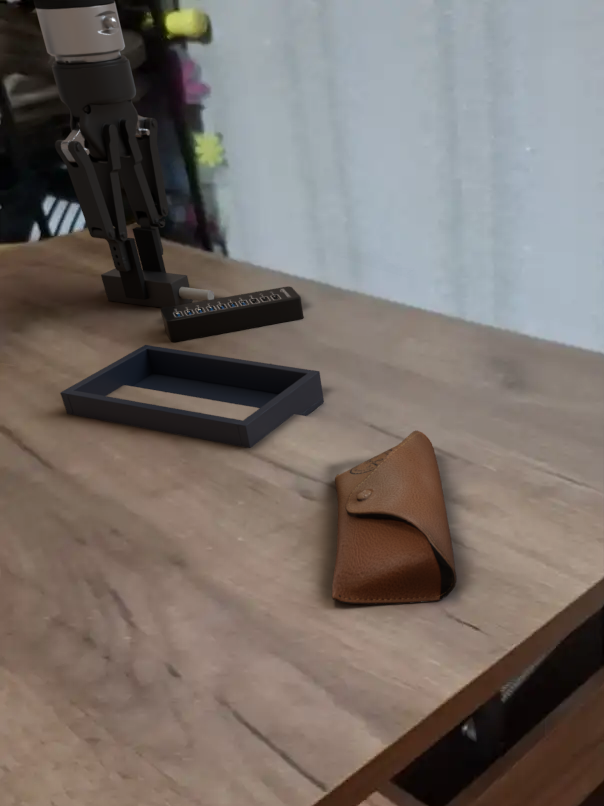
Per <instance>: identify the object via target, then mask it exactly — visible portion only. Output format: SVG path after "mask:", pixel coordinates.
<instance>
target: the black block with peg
mask: <svg viewBox="0 0 604 806" xmlns="http://www.w3.org/2000/svg"><path fill="white" fill-rule="evenodd" d="M142 271H143V275H144V279H145V284H146V288H147V292H148V296H149V298H148V299H146V300H141V299H134V298H126V295H125V291H124V288H123V284H122V280H121V276H120V273H119V271H117V269H116V268H115V267H114V268H113V269H110V270H108V271H105V272H104V273H101V274H100V277H101V281H102V284H103V288H104V291H105V295H106V299H107V301H108V302H115V303H121V304H122V303H123V304H131V305H137V306H144V307H145V306H146V307H152V308H153V307H154V308H160V309H162V308H165V307H171V306H177V305H182V304H188V303H193V302H194V301H199V302H200V301H206V300H212V299H215V293H214V291H213V290H211V289H201V288H193V287H191V286H190V282H189V277H188V275H187V274H179V273H172V272H166V273H164V272H156V271H148V270H143V269H142Z"/></svg>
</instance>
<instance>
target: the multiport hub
mask: <svg viewBox="0 0 604 806" xmlns="http://www.w3.org/2000/svg"><path fill="white" fill-rule="evenodd" d="M160 314H161V319H162V322H163V326H164V330H165V332H166V334H167V337H168V338H169V340H170V342H172V343H176V342H182V341H188V340H193V339H199V338H205V337H209V336H215V335H220V334H226V333H232V332H237V331H243V330H247V329H255V328H259V327H264V326H271V325H275V324H276V325H277V324H280V323H285V322H292V321H298V320H302V319H304V309H303V304H302V297H301V295H300V294H299V293H298V292H297V291H296V290H295V289H294V288H293V287H292V286H282V287H277V288H270V289H264V290H258V291H253V292H247V293H240V294H236V295H229V296H224V297H218V298H214V299H212V300H206V301H200V300H199V301H193V302H191V303H188V304H182V305H177V306H171V307H165V308H160Z"/></svg>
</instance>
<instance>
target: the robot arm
mask: <svg viewBox="0 0 604 806" xmlns="http://www.w3.org/2000/svg"><path fill="white" fill-rule="evenodd" d="M33 4H34V7H35V12H36V15H37V19H38V22H39V26H40V30H41V34H42V37H43V42H44V45H45V48H46V49H45V50H46V53H47V54H48V55H50V56H51V57H54V59H55V60H54V61H53V62H52V65H51V66H50V67H51V70H52V74H53V78H54V81H55V84H56V88H57V92H58V96H59V99H60V101H61V102H62V103H63V104H64V105H66V107H67V109H68V110H69V114H70V115H69V116H70V120H69V126H70V130H71V132H70V133H69V134H68V136H67V137H66V138H65V139H63V140H62V139H58V140H55V143H54V148H55V150H56V152H57V154H58V155H59V157H60V158H61V159H62V161H63V163H64V165H65V166H66V169H67V172H68V175H69V178H70V180H71V184H72V187H73V189H74V193H75V196H76V198H77V201H78V204H79V207H80V210H81V212H82V215H83V218H84V221H85V224H86V227H87V231H88V233H89V235H90V237H91V238H94V239H103V240H105V241H106V243H107V244H108V247H109V250H110V254H111V255H110V256H111V257H112V261H113V265H114V269H115V268H116V269H117V271H119V273H120V276H121V280H122V284H123V288H124V291H125V295H126V298H134V299H141V300H146V299H148V298H149V296H148V292H147V288H146V284H145V279H144V275H143V271H142V270H148V271H156V272H164V273H167V271H166V266H165V262H164V258H163V257H164V256H163V255H164V246H163V243H162V239H161V234H160V230H159V228H164V227H165V226H166V219H165V218H164V217H168V215H169V205H168V200H167V195H166V187H165V181H164V176H163V170H162V165H161V159H160V153H159V152H160V151H159V147H158V129H159V127H158V126H159V125H158V121H157V119H156V118H154V117H144V116H141V115H139V114H138V111H137V109H136V107H135V106H134V104H133V100H132V99H134V98H135V97H136V94H137V89H136V85H135V80H134V76H133V72H132V67H131V63H130V59H129V58H127V56H126V55H123V54H121V52H122V51H123V50H125V48H126V44H125V39H124V35H123V31H122V27H121V23H120V18H119V13H118V9H117V4H116V1H115V0H33ZM120 180H121V182H120ZM121 183H122V186H123V189H124V191H125V195H126V198H127V200H128V203H129V206H130V208H131V211H132V214H133V217H134V220H135V223H136V224H137V225H138V226H135V227H133V228H132V233H133V237H128V228H127V221H126V216H125V209H124V208H125V207H124V203H123V196H122V195H123V194H122V189H121ZM163 218H164V219H163ZM139 226H140V227H139Z"/></svg>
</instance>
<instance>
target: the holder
mask: <svg viewBox="0 0 604 806" xmlns="http://www.w3.org/2000/svg"><path fill="white" fill-rule="evenodd" d="M322 385H323V384H322V377H321V372H320V370H314V369H306V368H301V367H293V366H287V365H281V364H273V363H266V362H260V361H255V360H248V359H240V358H234V357H227V356H222V355H214V354H208V353H201V352H195V351H188V350H181V349H175V348H169V347H162V346H155V345H151V344H144V345H142V346H141V347H139V348H137V349H135V350H133V351H131V352H130V353H128V354H126V355H124V356H123V357H121V358H119V359H117V360H116V361H114V362H112V363H111V364H108V365H106V366H105V367H103V368H101V369H99V370H98V371H96V372H94V373H92V374H91V375H89V376H87V377H86V378H83V379H82V380H80V381H78V382H76V383H75V384H72V385H71V386H69V387H68V388H66V389H64V390H62V391H60V392H59V393H60V396H61V399H62V402H63V403H62V404H63V406H64V409H65V412H66V414H67V415H74V416H78V417H83V418H88V419H93V420H100V421H105V422H110V423H114V424H115V423H116V424H120V425H125V426H130V427H131V426H132V427H135V428H136V427H137V428H143V429H147V430H151V431H157V432H164V433H168V434H174V435H179V436H185V437H189V438H194V439H200V440H204V441H205V440H206V441H211V442H217V443H221V444H226V445H233V446H236V447H242V448H248V449H251V448H252V447H253V446H255V445H256V444H258V443H260V441H262V440H263V439H264V438H265V437H267V436H268V435H269V434H270V433H272V432H273V431H274V430H276V429H277V428H278V427H279V426H281V425H282V424H283V423H285V422H286V421H288V419H290V418H291V417H292V416H294V415H296V416H297V415H298V416H303V417H307V416H308V415H310V414H311V413H312V412H313V411H315V410H316V409H317V408H319V407H320V406H321V405H322V404H324V403H325V399H324V393H323V386H322ZM123 386H128V387H133V388H138V389H139V388H140V389H145V390H152V391H157V392H162V393H169V394H173V395H174V394H175V395H180V396H186V397H191V398H192V397H193V398H197V399H204V400H209V401H215V402H220V403H227V404H231V405H232V404H233V405H237V406H238V405H239V406H245V407H250V408H256V409H257V410H255V411H254V412H253V413H251V414H250V415H249V416H247V417H246V418H244V419H236V418H231V417H226V416H220V415H214V414H208V413H204V412H198V411H193V410H188V409H187V410H186V409H181V408H175V407H169V406H163V405H160V404H159V405H158V404H153V403H147V402H141V401H135V400H130V399H124V398H119V397H114V396H113V397H112V396H108V395H110V394H111V393H113V392H115V391H116V390H118V389H120V388H122V387H123Z"/></svg>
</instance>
